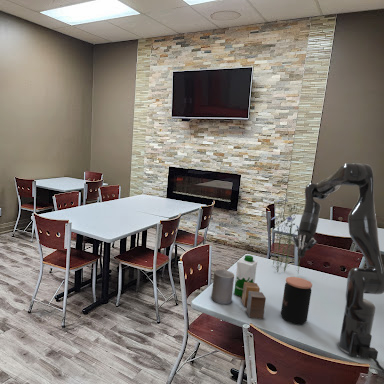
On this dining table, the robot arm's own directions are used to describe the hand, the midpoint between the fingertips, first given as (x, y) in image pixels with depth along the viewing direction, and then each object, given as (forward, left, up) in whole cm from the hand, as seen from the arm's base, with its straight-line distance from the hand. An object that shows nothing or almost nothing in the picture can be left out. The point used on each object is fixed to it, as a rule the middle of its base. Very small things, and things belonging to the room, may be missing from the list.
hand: (300, 256), depth 164 cm
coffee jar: (-17, +6, -24) cm, 30 cm away
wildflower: (+45, -9, -24) cm, 51 cm away
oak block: (-7, +23, -24) cm, 34 cm away
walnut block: (-17, +23, -24) cm, 38 cm away
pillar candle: (-5, +36, -24) cm, 44 cm away
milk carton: (+3, +24, -24) cm, 34 cm away
